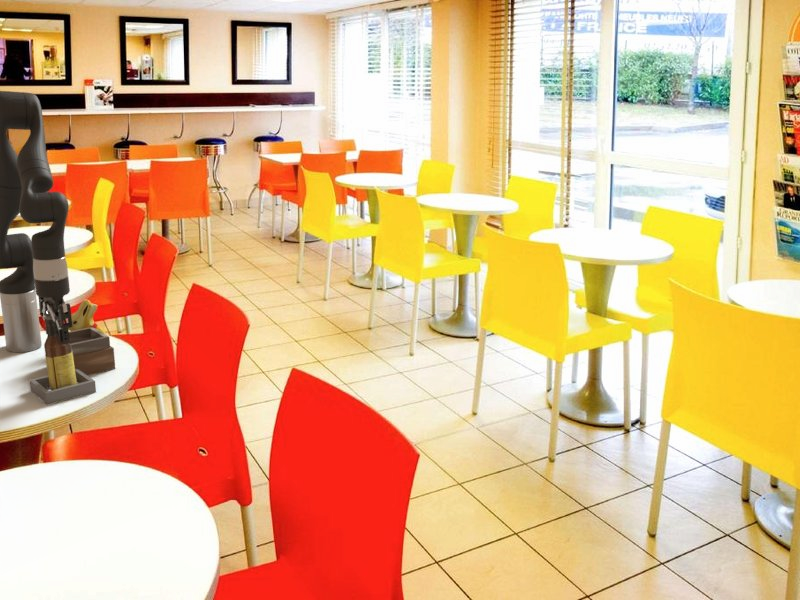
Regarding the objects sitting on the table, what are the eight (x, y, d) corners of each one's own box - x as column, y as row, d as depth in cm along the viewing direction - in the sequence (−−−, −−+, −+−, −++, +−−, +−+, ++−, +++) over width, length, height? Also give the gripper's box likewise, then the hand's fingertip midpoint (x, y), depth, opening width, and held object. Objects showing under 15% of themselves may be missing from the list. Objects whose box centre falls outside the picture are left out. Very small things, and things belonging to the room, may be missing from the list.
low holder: (30, 391, 194) (29, 380, 193) (78, 379, 202) (77, 368, 201) (47, 404, 186) (46, 393, 185) (96, 392, 194) (95, 381, 193)
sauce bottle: (82, 387, 196) (74, 313, 191) (69, 397, 191) (61, 321, 185) (57, 385, 197) (49, 312, 191) (44, 395, 191) (35, 319, 185)
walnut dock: (48, 366, 209) (44, 335, 207) (95, 355, 218) (92, 325, 216) (67, 380, 201) (63, 348, 198) (115, 368, 209) (112, 337, 207)
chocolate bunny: (70, 347, 224) (65, 298, 220) (110, 345, 227) (105, 296, 223) (66, 355, 218) (61, 304, 214) (107, 353, 221) (103, 303, 216)
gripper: (24, 271, 188) (31, 334, 192) (46, 283, 178) (53, 349, 182) (55, 267, 193) (61, 328, 197) (78, 278, 183) (84, 343, 187)
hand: (57, 338), depth 190 cm, fingers open, 8 cm apart
